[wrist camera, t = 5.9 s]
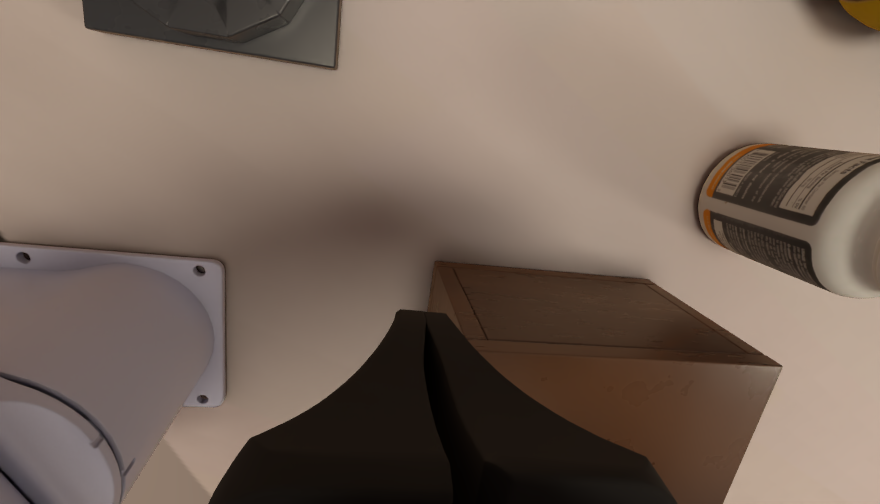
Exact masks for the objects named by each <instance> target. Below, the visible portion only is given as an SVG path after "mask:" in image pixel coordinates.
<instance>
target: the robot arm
mask: <svg viewBox="0 0 880 504" xmlns="http://www.w3.org/2000/svg"><path fill="white" fill-rule="evenodd" d="M23 252H24V253H27V254H28V255H29V256H30V258H31V259H30V260H27V259H26V258H25V257H24V255H23ZM196 266H202V267H203V268H204V269H205V273H200V272H198V271H197V269H196ZM200 395H205V396H206V397H207V398H208V399H204V398H202V397H200ZM225 396H226V365H225V269H224V266H223V264H222V263H221V262H219V261H218V260H214V259H204V258H191V257H179V256H166V255H154V254H141V253H129V252H116V251H104V250H91V249H79V248H66V247H54V246H41V245H29V244H16V243H4V242H0V504H122V502H123V500H124V499H125V497H126V496H127V494H128V492H129V491H130V489H131V488H132V486H133V484H134V483H135V481H136V480H137V478H138V476H139V475H140V473H141V471H142V470H143V468H144V467H145V465H146V463H147V462H148V460H149V458H150V457H151V455H152V454H153V452H154V451H155V449H156V447H157V446H158V444H159V442H160V441H161V439H162V438H163V436H164V435H165V433H166V431H167V430H168V428H169V426H170V425H171V423H172V422H173V420H174V418H175V417H176V415H177V414H178V412H179V410H180V409H181V407H218V406H220V405H221V404H222V403H223V402H224V400H225ZM209 504H677V502H676V500H675V498H674V497H673V495H672V494H671V492H670V491H669V489H668V488H667V486H666V485H665V483H664V482H663V480H662V479H661V477H660V476H659V474H658V473H657V471H656V470H655V468H654V467H653V465H652V464H651V462H650V461H649V460H648V458H647V457H646V456H643V455H641V454H639V453H636V452H634V451H632V450H629V449H627V448H625V447H622V446H620V445H617V444H615V443H613V442H610V441H608V440H606V439H603V438H601V437H599V436H597V435H595V434H593V433H591V432H589V431H587V430H585V429H583V428H581V427H579V426H577V425H575V424H574V423H572V422H570V421H568V420H566V419H565V418H563V417H561V416H559V415H558V414H556V413H554V412H553V411H551V410H550V409H548V408H546V407H545V406H543V405H542V404H540V403H539V402H537V401H536V400H534V399H533V398H531V397H530V396H528V395H527V394H526V393H524V392H523V391H522V390H520V389H519V388H518V387H517V386H515V385H514V384H513V383H511V382H510V381H509V380H508V379H506V378H505V377H504V376H503V375H502V374H501V373H499V372H498V371H497V370H496V369H495V368H494V367H493V366H492V365H491V364H490V363H489V362H488V361H487V360H486V359H485V358H484V357H483V356H482V355H481V354H480V353H479V352H478V351H477V350H476V349H475V348H474V347H473V346H472V344H471V343H470V342H469V341H468V340H467V339H466V338H465V336H464V335H463V334H462V333H461V332H460V330H459V329H458V328H457V327H456V325H455V324H454V323H453V322H452V320H451V319H450V318H449V317H448V315H447V314H446V313H437V312H425V311H413V310H401V309H400V310H399V311H398V312H396V315H395V319H394V321H393V323H392V325H391V327H390V329H389V331H388V332H387V334H386V335H385V337H384V339H383V340H382V342H381V343H380V345H379V346H378V347H377V349H376V350H375V351H374V352H373V354H372V355H371V356H370V357H369V358H368V360H367V361H366V362H365V363H364V364H363V365H362V366H361V368H360V369H359V370H358V371H357V372H356V373H355V374H354V375H353V376H352V377H350V378H349V379H348V380H347V381H346V382H345V383H344V384H343V385H341V386H340V387H339V388H338V389H337V390H335V391H334V392H333V393H332V394H331V395H329V396H328V397H327V398H325V399H324V400H322V401H321V402H320V403H318V404H317V405H315V406H313V407H312V408H310V409H309V410H307V411H305V412H304V413H302V414H300V415H298V416H296V417H295V418H293V419H291V420H289V421H287V422H285V423H283V424H280V425H278V426H276V427H274V428H272V429H270V430H268V431H265V432H263V433H261V434H259V435H256V436H254V437H252V438H250V439H249V440H248V442H247V443H246V444H245V446H244V447H243V448H242V450H241V451H240V452H239V454H238V455H237V457H236V458H235V460H234V461H233V463H232V464H231V466H230V467H229V469H228V470H227V472H226V473H225V475H224V476H223V478H222V480H221V481H220V483H219V485H218V486H217V488H216V490H215V491H214V493H213V495H212V497H211V499H210V502H209Z"/></svg>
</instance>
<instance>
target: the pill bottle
mask: <svg viewBox="0 0 880 504" xmlns="http://www.w3.org/2000/svg"><path fill="white" fill-rule="evenodd" d="M698 212H699V219H700V223H701V226H702V228H703V230H704V232H705V233H706V235H707V236H708V237H709V238H710V239H711V240H712V241H713V242H715V243H716V244H718V245H720V246H722V247H724V248H726V249H728V250H731V251H733V252H735V253H737V254H740V255H743V256H745V257H747V258H749V259H752V260H754V261H757V262H759V263H761V264H764V265H766V266H769V267H771V268H774V269H776V270H779V271H781V272H783V273H786V274H788V275H790V276H793V277H795V278H798V279H800V280H803V281H805V282H808V283H810V284H812V285H815V286H817V287H820V288H822V289H825V290H827V291H829V292H832V293H835V294H838V295H841V296H846V297H851V298H876V297H880V155H879V154H869V153H859V152H848V151H838V150H827V149H817V148H808V147H798V146H788V145H778V144H754V145H749V146H746V147H743V148H741V149H738V150H736V151H734V152H733V153H731V154H730V155H728V156H727V157H725V158H724V159H723V160H722V161H721V162H720V163H719V164H718V165H717V166H716V167H715V168H714V169H713V170H712V172H711V173H710V175H709V176H708V178H707V180H706V182H705V183H704V185H703V188H702V191H701V194H700V198H699V204H698Z"/></svg>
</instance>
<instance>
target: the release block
mask: <svg viewBox="0 0 880 504" xmlns="http://www.w3.org/2000/svg"><path fill="white" fill-rule="evenodd" d="M82 1H83V12H84V23H85V27H86V28H87V29H91V30H95V31H98V32H102V33H108V34H114V35H120V36H126V37H133V38H139V39H145V40H151V41H157V42H164V43H170V44H176V45H182V46H189V47H195V48H201V49H207V50H213V51H220V52H226V53H232V54H238V55H244V56H251V57H257V58H263V59H269V60H275V61H282V62H288V63H294V64H300V65H306V66H313V67H319V68H325V69H331V70H337V67H338V52H339V37H340V23H341V8H342V0H82Z"/></svg>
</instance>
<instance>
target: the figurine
mask: <svg viewBox="0 0 880 504" xmlns="http://www.w3.org/2000/svg"><path fill="white" fill-rule="evenodd" d="M838 1H839V2H840V3H841V5H842V6H843V8H844V9H845V10H846V11H847V12H848V13H849V14H850V15H851V16H852V17H854V18H855V19H857V20H858V21H860V22H861V23H863V24H864V25H866V26H867V27H870V28H873V29H875V30H878V31H880V0H838Z"/></svg>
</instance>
